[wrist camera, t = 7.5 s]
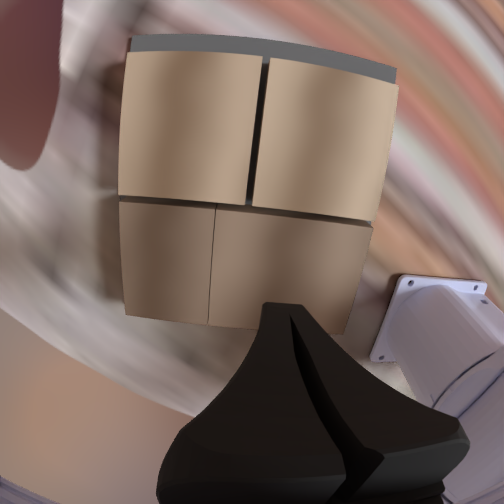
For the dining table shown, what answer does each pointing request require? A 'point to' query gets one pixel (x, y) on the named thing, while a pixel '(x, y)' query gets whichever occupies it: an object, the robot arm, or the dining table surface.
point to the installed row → (237, 261)
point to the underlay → (267, 51)
